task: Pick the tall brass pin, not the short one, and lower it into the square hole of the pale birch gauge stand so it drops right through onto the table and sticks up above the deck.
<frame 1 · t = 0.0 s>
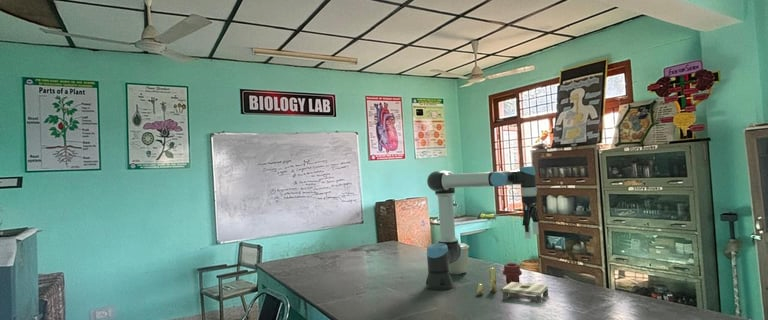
hand: (532, 236, 222), 28 cm above the table, fingers open, 13 cm apart
long pin: (493, 291, 224), on the table
short pin: (480, 294, 220), on the table
mechanical component: (513, 286, 232), on the table
gauge stand: (525, 297, 211), on the table
canister: (456, 272, 270), on the table
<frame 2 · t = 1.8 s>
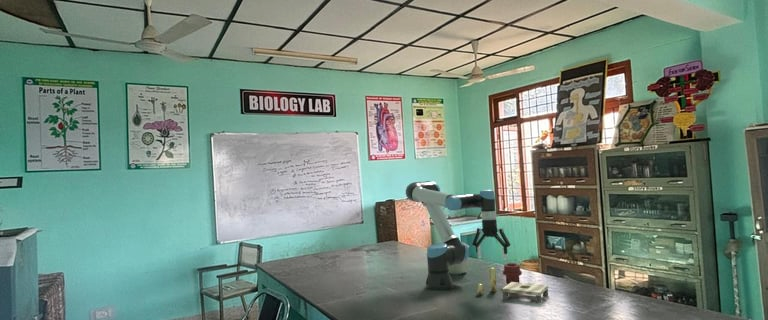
hand: (492, 259, 225), 17 cm above the table, fingers open, 13 cm apart
nothing on the table moved.
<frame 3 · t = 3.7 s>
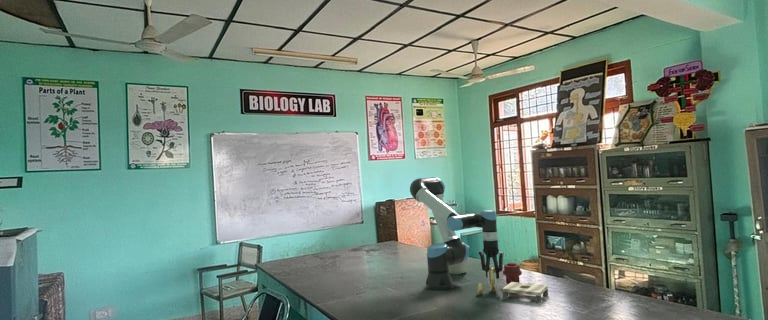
hand: (493, 284, 225), 4 cm above the table, fingers closed on long pin, 3 cm apart
long pin: (493, 291, 224), on the table, touching gripper
everything else where it was.
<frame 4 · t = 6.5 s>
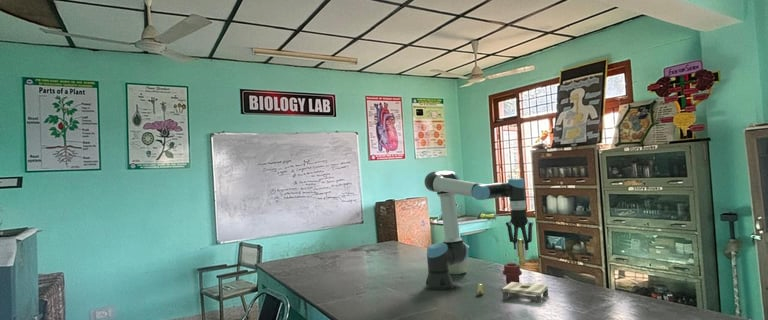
hand: (521, 256, 212), 20 cm above the table, fingers closed on long pin, 3 cm apart
long pin: (522, 263, 212), point 16 cm above the table, touching gripper
everything else where it was.
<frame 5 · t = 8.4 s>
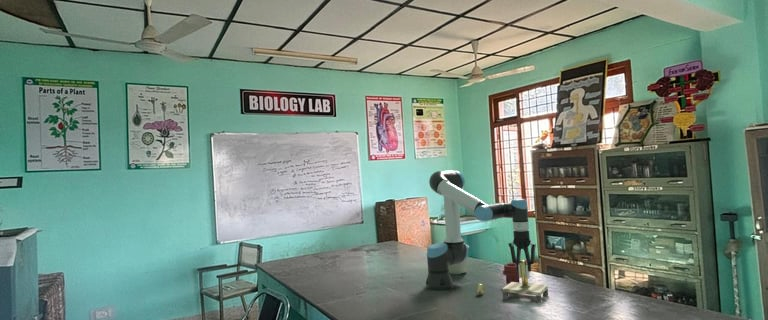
hand: (524, 277, 211), 10 cm above the table, fingers closed on long pin, 3 cm apart
long pin: (525, 285, 211), point 6 cm above the table, touching gripper
everything else where it was.
when the fingers open (7 cm above the table, at t = 9.6 s): long pin drops 3 cm, on the table.
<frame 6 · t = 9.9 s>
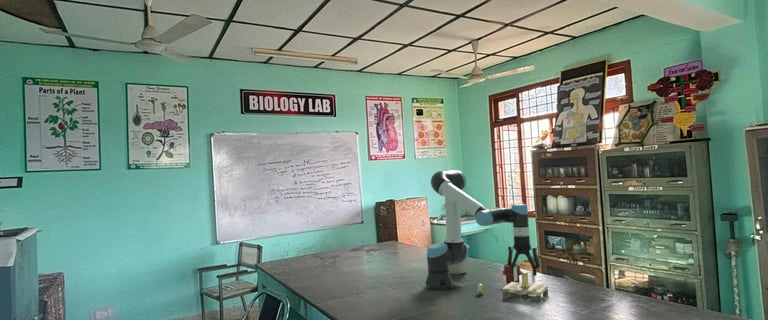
hand: (524, 281, 211), 8 cm above the table, fingers open, 8 cm apart
long pin: (525, 297, 211), on the table
everything else where it was.
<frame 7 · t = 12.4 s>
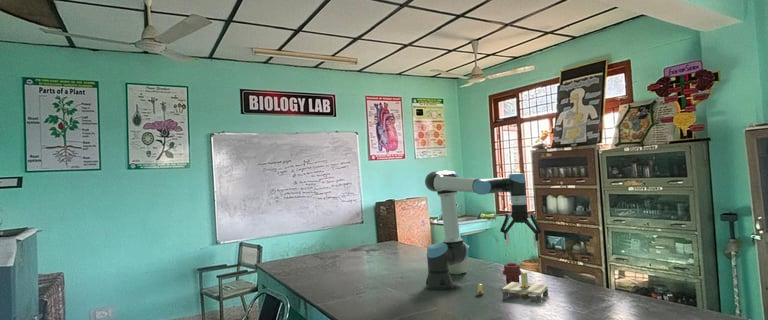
hand: (521, 246, 212), 25 cm above the table, fingers open, 13 cm apart
nothing on the table moved.
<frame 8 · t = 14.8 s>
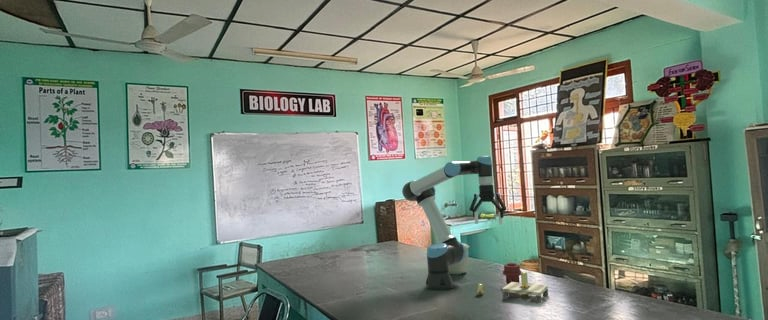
hand: (488, 223, 230), 35 cm above the table, fingers open, 13 cm apart
nothing on the table moved.
at the end: long pin 0.0 cm off-centre on the gauge stand, point 0.0 cm above the gauge stand's base; long pin tilted 0°; short pin moved 0.0 cm from its start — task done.
